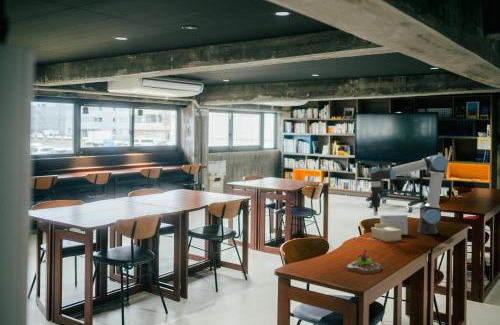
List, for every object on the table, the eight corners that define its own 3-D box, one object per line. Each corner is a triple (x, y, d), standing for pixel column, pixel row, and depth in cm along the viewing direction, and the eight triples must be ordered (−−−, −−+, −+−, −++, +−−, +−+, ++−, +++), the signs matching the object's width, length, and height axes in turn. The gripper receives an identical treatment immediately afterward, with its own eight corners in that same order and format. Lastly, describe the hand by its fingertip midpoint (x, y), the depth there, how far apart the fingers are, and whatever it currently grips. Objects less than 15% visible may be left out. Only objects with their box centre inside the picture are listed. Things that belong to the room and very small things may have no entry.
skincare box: (406, 233, 375) (406, 214, 375) (408, 234, 370) (407, 215, 369) (380, 233, 377) (379, 214, 377) (381, 234, 372) (381, 215, 371)
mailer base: (387, 235, 367) (387, 227, 367) (401, 240, 350) (400, 231, 350) (372, 237, 363) (372, 228, 363) (385, 241, 346) (385, 232, 346)
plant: (387, 268, 275) (387, 250, 275) (371, 275, 261) (371, 256, 261) (357, 263, 289) (357, 245, 288) (341, 269, 275) (341, 251, 274)
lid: (388, 228, 367) (388, 222, 367) (401, 232, 350) (401, 226, 350) (371, 230, 362) (371, 223, 362) (384, 234, 345) (384, 227, 345)
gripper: (367, 185, 373) (367, 214, 374) (376, 187, 361) (376, 216, 362) (375, 185, 376) (375, 214, 377) (384, 186, 363) (384, 216, 364)
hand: (375, 215), depth 369 cm, fingers closed
